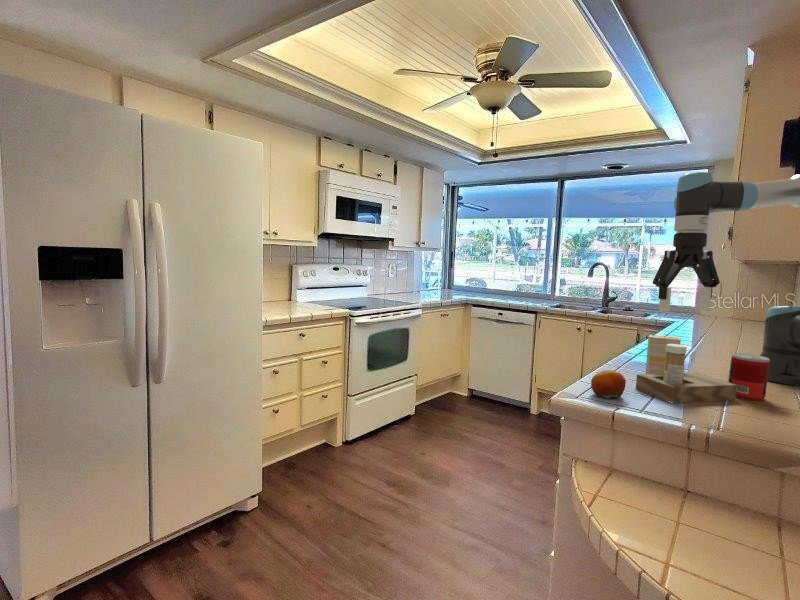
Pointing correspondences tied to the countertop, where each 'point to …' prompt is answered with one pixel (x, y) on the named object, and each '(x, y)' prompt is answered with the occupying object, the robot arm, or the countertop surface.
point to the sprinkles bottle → (674, 363)
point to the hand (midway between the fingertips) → (684, 311)
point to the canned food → (749, 375)
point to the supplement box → (658, 353)
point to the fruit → (608, 384)
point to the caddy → (687, 388)
